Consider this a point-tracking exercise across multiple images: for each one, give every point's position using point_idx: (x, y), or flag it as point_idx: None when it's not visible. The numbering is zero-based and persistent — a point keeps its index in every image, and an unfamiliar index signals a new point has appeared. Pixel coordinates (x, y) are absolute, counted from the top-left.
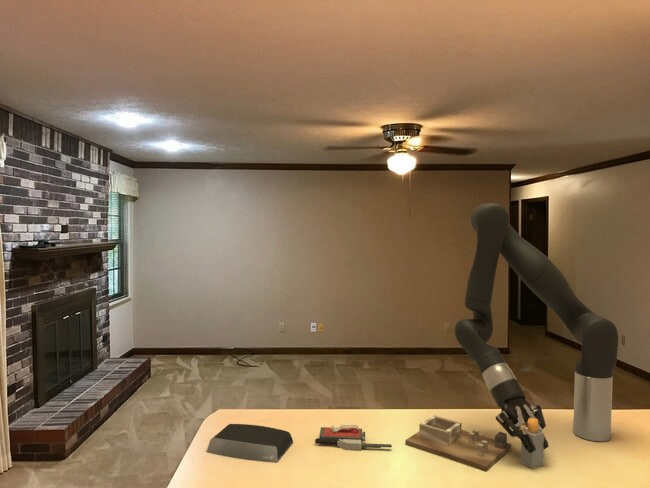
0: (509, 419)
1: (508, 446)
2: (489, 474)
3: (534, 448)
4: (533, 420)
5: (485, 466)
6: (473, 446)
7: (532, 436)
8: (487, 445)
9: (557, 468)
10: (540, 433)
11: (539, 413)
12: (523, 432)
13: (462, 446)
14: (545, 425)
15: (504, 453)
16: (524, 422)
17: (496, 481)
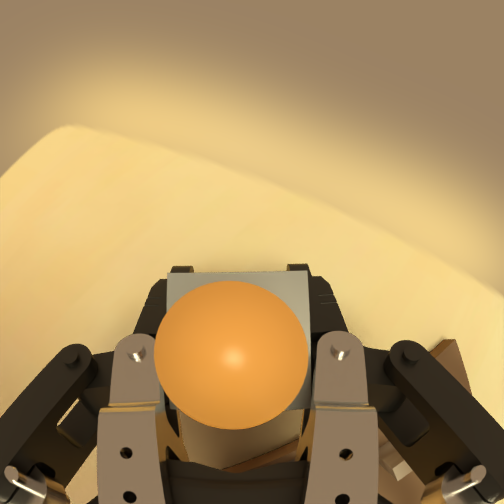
0: (468, 445)
1: (245, 469)
2: (445, 318)
3: (299, 264)
4: (260, 324)
5: (455, 341)
6: (386, 489)
7: (306, 281)
8: (385, 460)
9: (175, 258)
10: (204, 282)
11: (16, 440)
12: (354, 344)
13: (417, 488)
14: (63, 351)
15: (290, 444)
16: (318, 414)
17: (449, 271)
